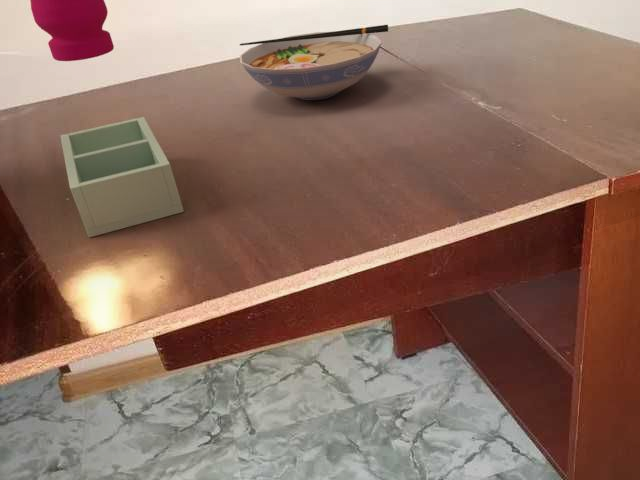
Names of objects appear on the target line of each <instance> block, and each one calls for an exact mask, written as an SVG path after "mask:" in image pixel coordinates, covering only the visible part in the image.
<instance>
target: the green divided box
mask: <svg viewBox="0 0 640 480" xmlns="http://www.w3.org/2000/svg"><path fill="white" fill-rule="evenodd" d="M59 138H60V142H61V147H62V153H63V158H64V163H65V169H66V175H67V181H68V185H69V190H70V193H71V195H72V197H73V201H74V202H75V206H76V208H77V211H78V214H79V216H80V219H81V221H82V224H83V227H84V229H85V232H86V235H87V237H88V239H89V238H90V239H91V238H93V237H97V236H101V235H104V234H108V233H111V232H115V231H119V230H122V229H126V228H129V227H134V226H136V225H141V224H145V223H148V222H152V221H155V220H158V219H162V218H166V217H169V216H173V215H177V214H182V213H184V212H185V210H184V207H183V204H182V200H181V196H180V193H179V189H178V187H177V183H176V180H175V176H174V173H173V169H172V166H171V163H170V162H169V160H168V158H167V155H165V152H164V151H163V149H162V147H161V145H160V144H159V141H158V140H157V138H156V136H155V134H154V133H153V130H152V129H151V127H150V125H149V123H148V121H147V120H146V118H145V117H144V116H141V117H137V118H136V117H135V118H132V119H127V120H122V121H119V122H113V123H109V124H105V125H101V126H95V127H92V128H87V129H83V130H78V131H73V132H69V133H64V134H60V137H59Z"/></svg>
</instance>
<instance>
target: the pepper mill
mask: <svg viewBox="0 0 640 480" xmlns="http://www.w3.org/2000/svg"><path fill="white" fill-rule="evenodd" d="M30 10H31V13H32V17H33V21H34V22H35V24H36V25H37V26H38V27H39V28H40V29H41V30H43V31H44V32H45V33H47V34H48V35H49V36H50V37H51V38H50V40H49V41H48V42H47V45H48V47H49V51H50V53H51V57H52V59H54V60H55V61H58V62H75V61H83V60H88V59H93V58H98V57H100V56H103V55H106V54H108V53H111V52H112V51H113V50H114V48H115V45H114V43H113V39H112V36H111V33H110V32H109V31H108V30H105V29H103V26H104V24H105V22H106V19H107V17H108V13H109V12H108V11H109V10H108V7H107V4H106V1H105V0H30Z"/></svg>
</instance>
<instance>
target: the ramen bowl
mask: <svg viewBox="0 0 640 480" xmlns="http://www.w3.org/2000/svg"><path fill="white" fill-rule="evenodd" d="M387 32H389V24H380V25H375V26H367V27H357V28H351V29H343V30H333V31H317V32H311V33H302V34H296V35H289V36H285V37H280V38H274V39H267V40H259V41H251V42H250V41H249V42H244V43H239V46H249V45H255V46H252V47H250V48H248V49H246V51H244V52H243V53H241V54H240V55H239V62H240V64H241V65H242V67H243V68H244V70H245V71H246V72H247V73H248V74H249V76H251V78H252V79H253V80H254V81H256V83H258V84H259V85H260V86H262V87H263V88H264V89H265V88H266V89H268V90H269V91H272V92H274V93H276V94H278V95H281V96H286V97H292V98H296V99H298V100H302V101H319V100H320V101H321V100H325V99H328V98H332V97H335V96H336V95H339V94H340V92H342V91H343V90H345V89H347V88H349V87H351V86H354V85H355V84H356V83H358V82H359V81H360V80H361V79H363V78H364V77H365V75H367V73H368V72H369V70H370V68H371V67H372V65H373V64H374V62H375V60H376V58H377V56H378V54H379V52H380V49H381V45H382V41H381V39H380V38H379V37H378V36H377V35H374V34H376V33H377V34H379V33H387Z"/></svg>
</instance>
